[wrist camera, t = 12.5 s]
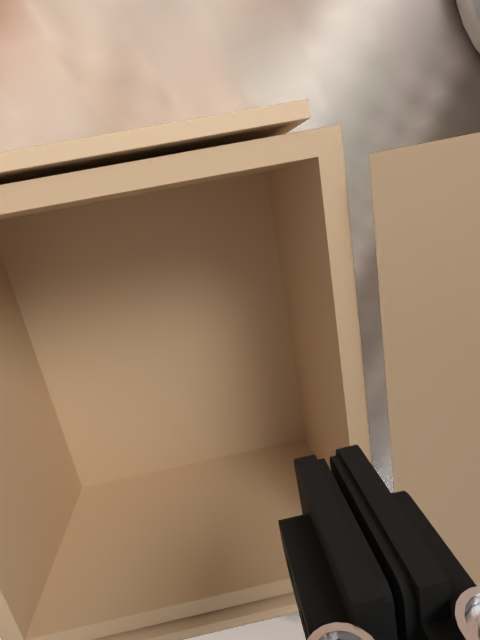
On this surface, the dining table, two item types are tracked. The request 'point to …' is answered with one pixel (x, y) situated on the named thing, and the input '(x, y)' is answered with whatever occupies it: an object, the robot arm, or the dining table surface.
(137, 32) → the dining table surface
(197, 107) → the dining table surface
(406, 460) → the flap
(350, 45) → the dining table surface
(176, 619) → the carton
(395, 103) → the dining table surface
